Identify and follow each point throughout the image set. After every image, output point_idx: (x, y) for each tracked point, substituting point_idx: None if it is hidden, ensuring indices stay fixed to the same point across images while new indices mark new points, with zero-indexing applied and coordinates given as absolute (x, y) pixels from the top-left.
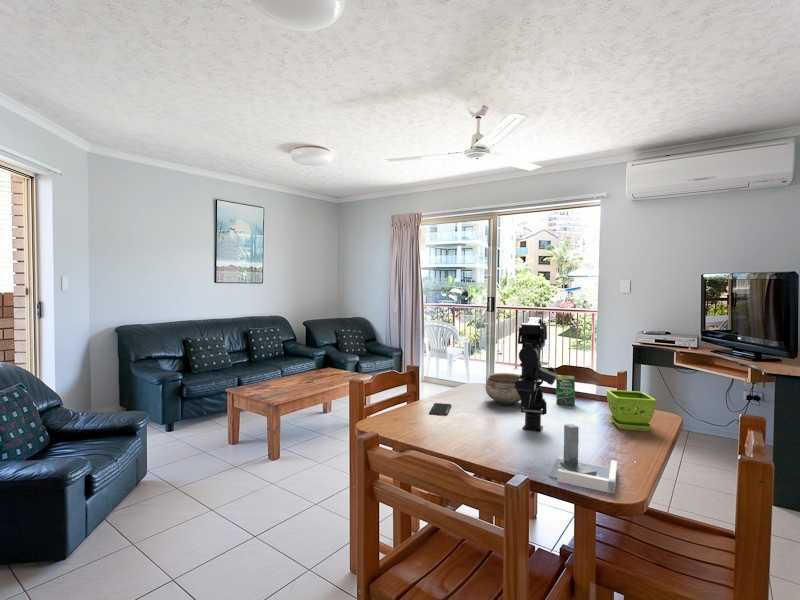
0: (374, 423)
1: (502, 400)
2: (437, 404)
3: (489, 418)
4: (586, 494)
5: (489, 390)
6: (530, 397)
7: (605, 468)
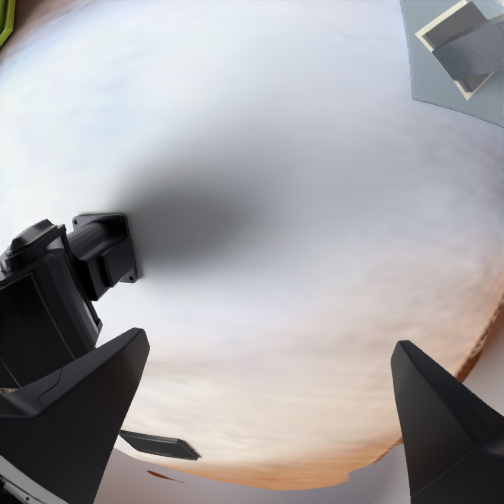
0: (308, 485)
1: None
2: (139, 448)
3: None
4: None
5: None
6: (473, 415)
7: None
